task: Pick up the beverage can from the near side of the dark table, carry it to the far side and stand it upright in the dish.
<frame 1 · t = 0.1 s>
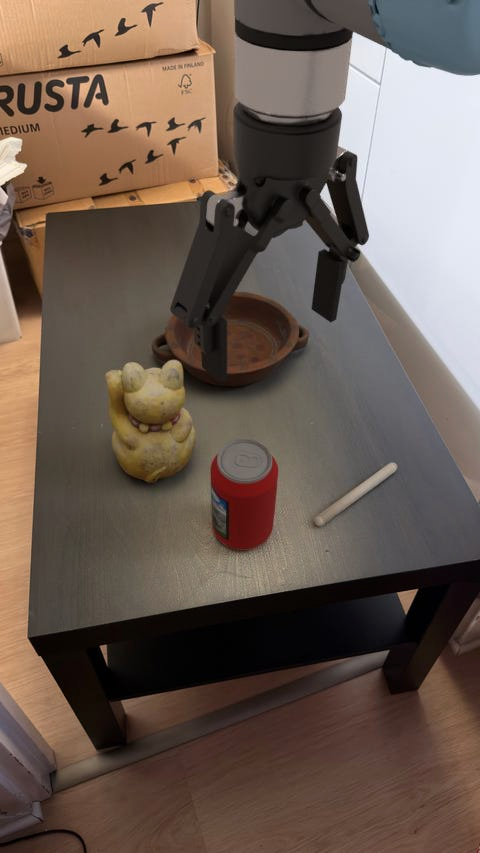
hand: (271, 342, 58), 21 cm above the table, tool pointing down, fingers open, 13 cm apart
wooden stick: (356, 496, 72), on the table
beverage can: (242, 528, 69), on the table
dish: (231, 356, 88), on the table
decorative figurine: (157, 465, 75), on the table
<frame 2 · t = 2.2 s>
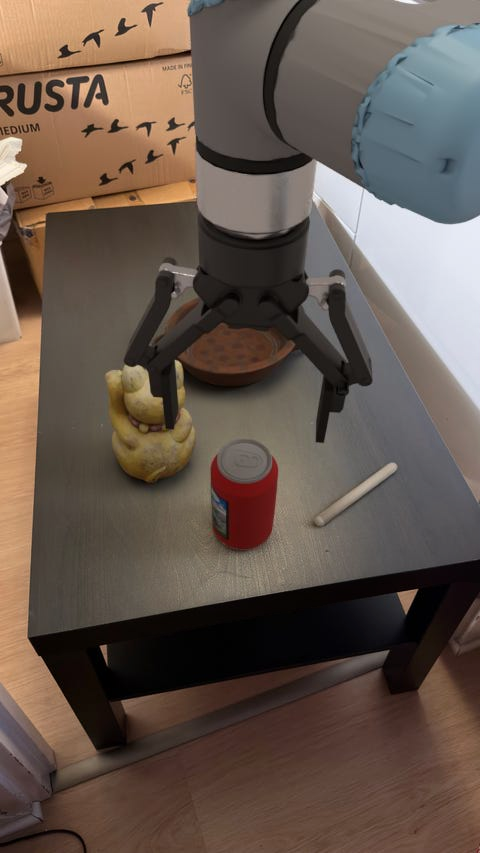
hand: (245, 425, 57), 16 cm above the table, tool pointing down, fingers open, 13 cm apart
nothing on the table moved.
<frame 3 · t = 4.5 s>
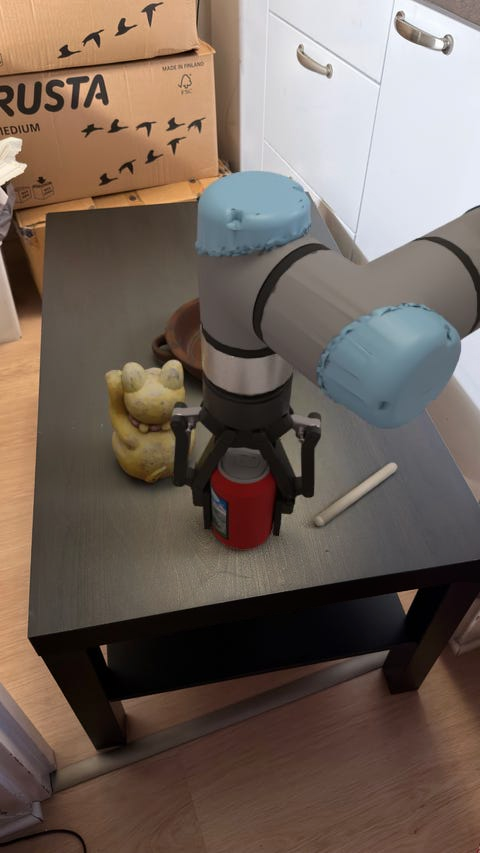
hand: (242, 522, 68), 1 cm above the table, tool pointing down, fingers closed on beverage can, 7 cm apart
beverage can: (242, 528, 69), on the table, touching gripper
everything else where it was.
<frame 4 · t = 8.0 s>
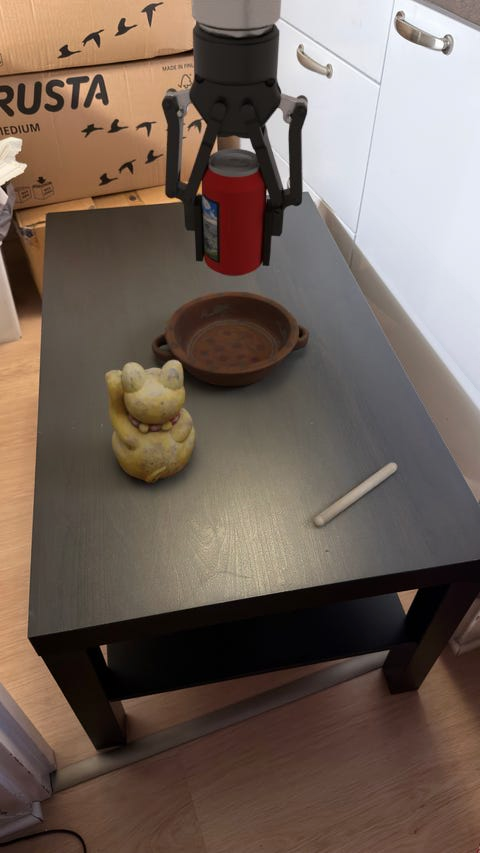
hand: (233, 256, 70), 19 cm above the table, tool pointing down, fingers closed on beverage can, 7 cm apart
beverage can: (233, 265, 71), point 18 cm above the table, touching gripper
everything else where it was.
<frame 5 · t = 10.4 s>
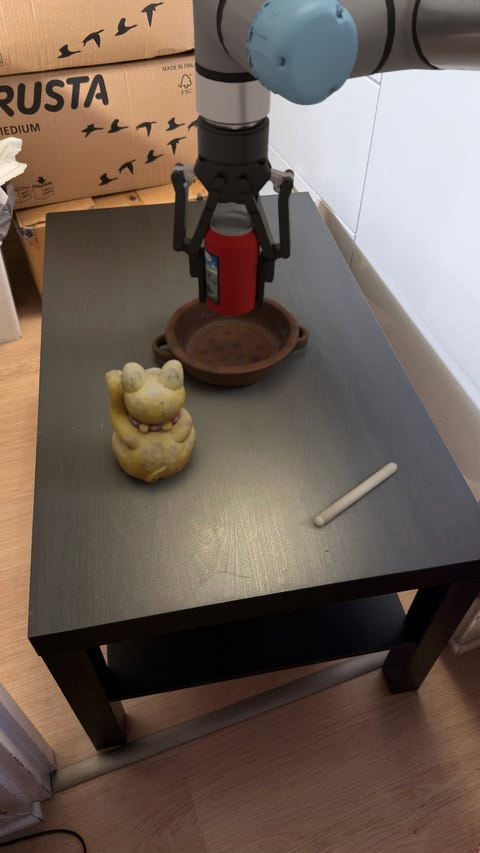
hand: (231, 298, 81), 10 cm above the table, tool pointing down, fingers closed on beverage can, 7 cm apart
beverage can: (231, 305, 82), point 9 cm above the table, touching gripper
everything else where it was.
when the fingers open (6 cm above the table, at t = 11.8 s): beverage can stays where it is, resting on dish.
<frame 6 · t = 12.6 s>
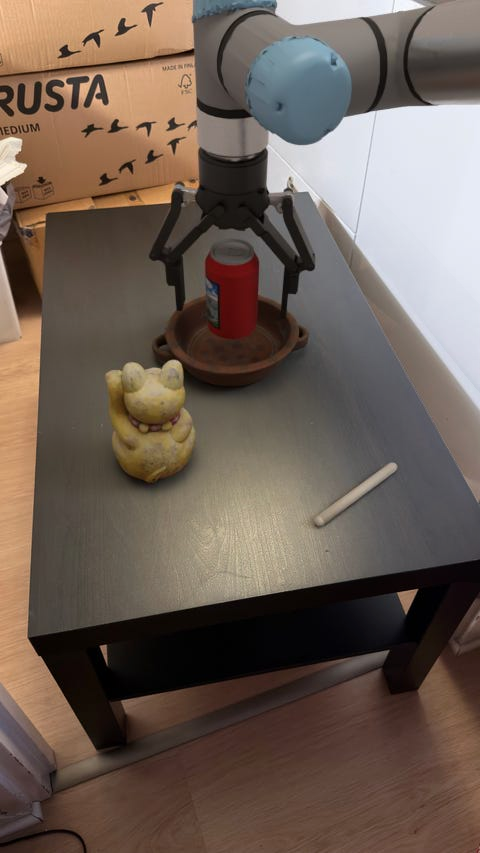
hand: (232, 308, 82), 8 cm above the table, tool pointing down, fingers open, 13 cm apart
beverage can: (231, 328, 85), point 5 cm above the table, touching dish
dish: (231, 356, 88), on the table, touching beverage can
everything else where it was.
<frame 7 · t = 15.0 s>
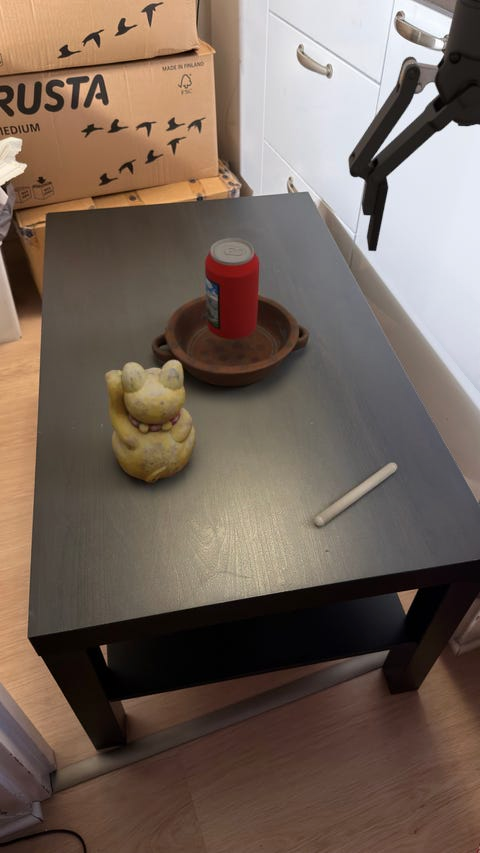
hand: (440, 247, 62), 25 cm above the table, tool pointing down, fingers open, 13 cm apart
nothing on the table moved.
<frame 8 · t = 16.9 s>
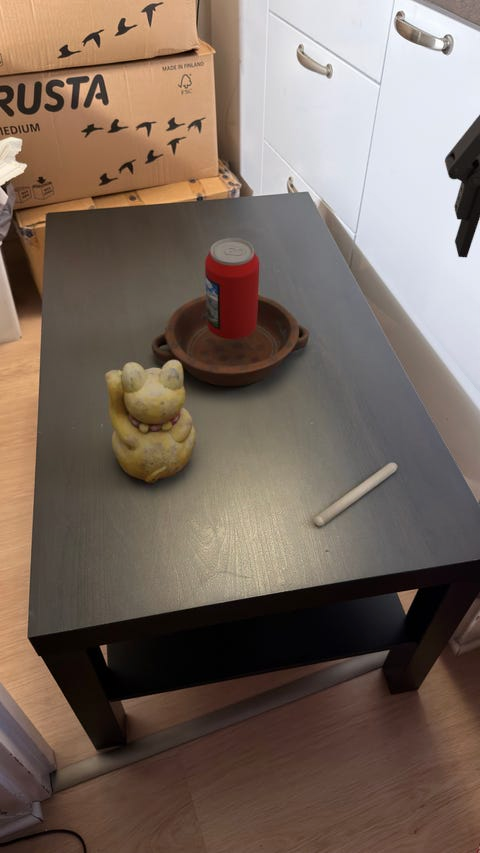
nothing on the table moved.
at the end: beverage can inside the target area in the dish (0.0 cm from its centre), point 5.0 cm above the dish's base; beverage can tilted 0°; the gripper is holding nothing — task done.
